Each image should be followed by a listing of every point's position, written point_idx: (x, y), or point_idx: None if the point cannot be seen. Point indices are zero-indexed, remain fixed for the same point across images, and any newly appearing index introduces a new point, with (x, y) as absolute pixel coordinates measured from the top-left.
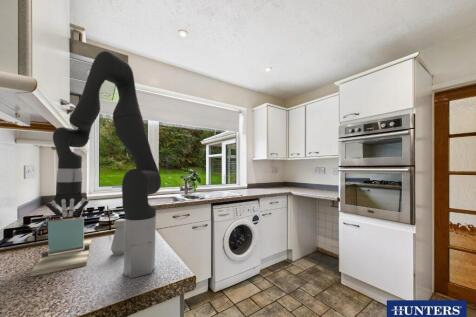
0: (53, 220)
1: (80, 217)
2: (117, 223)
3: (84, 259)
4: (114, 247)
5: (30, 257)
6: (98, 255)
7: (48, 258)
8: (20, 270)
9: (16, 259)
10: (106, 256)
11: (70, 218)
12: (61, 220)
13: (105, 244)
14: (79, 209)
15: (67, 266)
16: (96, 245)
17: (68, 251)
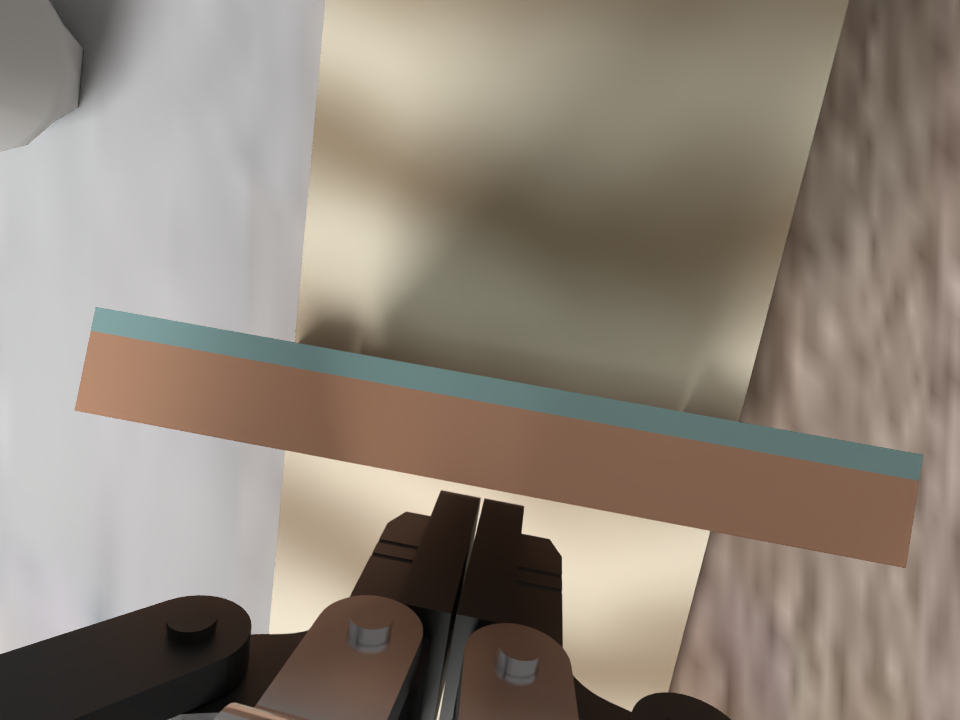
0: (790, 512)
1: (153, 415)
2: None
3: (352, 8)
4: None
5: (809, 589)
6: (228, 163)
7: (677, 328)
8: (900, 256)
9: (919, 620)
10: (154, 65)
11: (387, 457)
12: (601, 432)
13: (153, 480)
14: (31, 693)
15: None
16: (237, 513)
17: None
